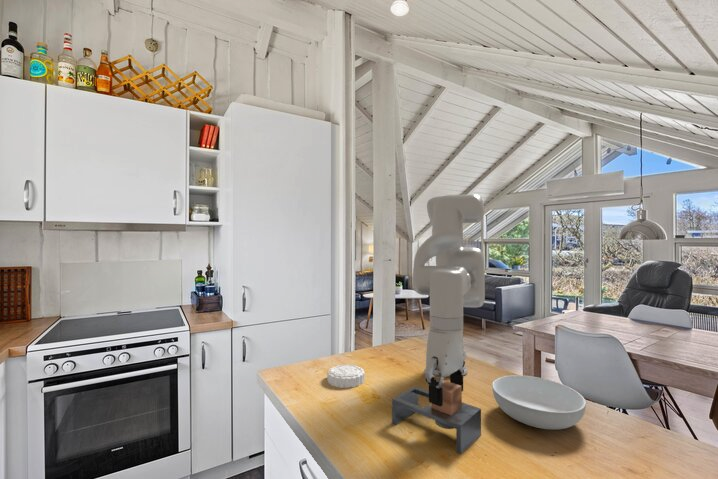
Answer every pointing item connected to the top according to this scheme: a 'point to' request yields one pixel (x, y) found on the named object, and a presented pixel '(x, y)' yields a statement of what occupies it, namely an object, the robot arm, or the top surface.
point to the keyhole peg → (449, 401)
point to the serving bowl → (539, 401)
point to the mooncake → (346, 376)
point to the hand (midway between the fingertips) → (446, 396)
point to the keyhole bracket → (440, 416)
